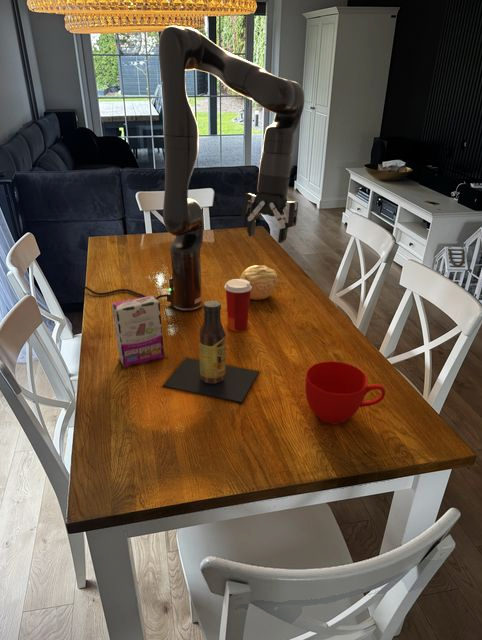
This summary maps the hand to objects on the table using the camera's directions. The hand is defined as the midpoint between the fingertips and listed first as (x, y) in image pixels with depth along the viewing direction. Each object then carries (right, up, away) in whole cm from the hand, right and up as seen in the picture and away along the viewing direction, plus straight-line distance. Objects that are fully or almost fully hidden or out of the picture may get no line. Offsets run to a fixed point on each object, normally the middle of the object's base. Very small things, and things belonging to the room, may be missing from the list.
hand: (266, 239), depth 126 cm
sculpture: (0, -10, +39) cm, 41 cm away
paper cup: (-7, -22, +19) cm, 30 cm away
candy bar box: (-33, -31, +3) cm, 45 cm away
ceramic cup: (+15, -43, -18) cm, 49 cm away
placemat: (-14, -36, -5) cm, 39 cm away
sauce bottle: (-14, -36, -5) cm, 39 cm away
